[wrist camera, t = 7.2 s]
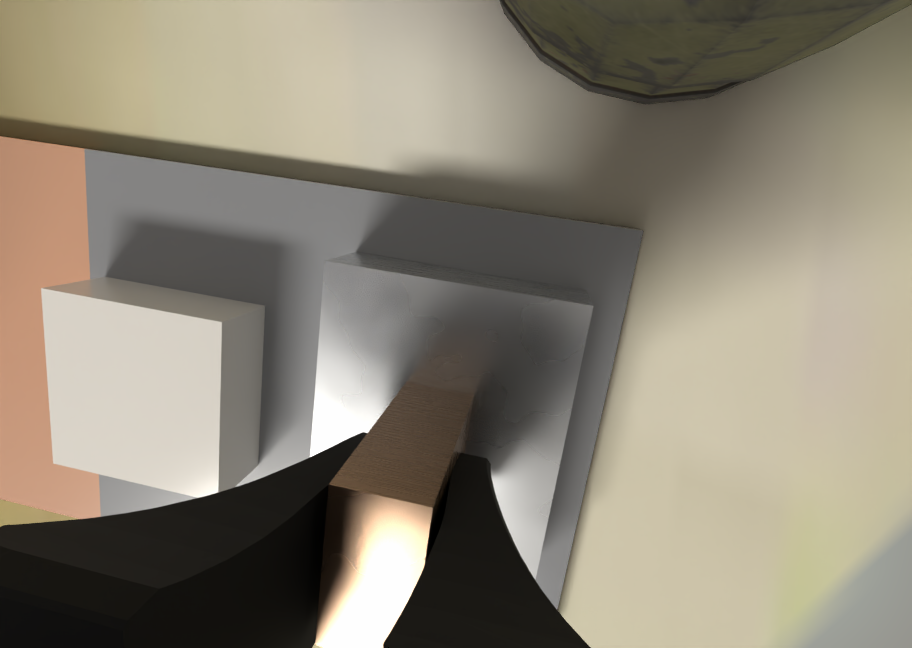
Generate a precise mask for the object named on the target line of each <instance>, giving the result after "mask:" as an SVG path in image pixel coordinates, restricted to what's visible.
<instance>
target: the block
mask: <svg viewBox="0 0 912 648" xmlns="http://www.w3.org/2000/svg"><path fill="white" fill-rule="evenodd" d="M41 295H42V310H43V324H44V338H45V353H46V367H47V382H48V396H49V410H50V425H51V439H52V454H53V463H54V464H58V465H62V466H66V467H70V468H75V469H79V470H83V471H87V472H92V473H96V474H100V475H104V476H108V477H113V478H117V479H121V480H125V481H129V482H134V483H138V484H142V485H146V486H151V487H155V488H159V489H163V490H167V491H172V492H176V493H180V494H184V495H188V496H193V497H197V498H199V497H204V496H208V495H211V494H215V493H218V492H221V491H224V490H228V489H231V488H234V487H235V486H236V485H238V484H239V483H240V482H241V481H242V480H243V479H244V478H245V477H246V476H247V475H248V474H249V473H251V472H252V471H253V470H254V469H255V468H256V467H257V466H258V456H259V434H260V411H261V388H262V365H263V342H264V319H265V306H264V305H258V304H253V303H247V302H242V301H236V300H231V299H225V298H220V297H214V296H209V295H203V294H198V293H192V292H187V291H181V290H176V289H170V288H164V287H159V286H153V285H148V284H142V283H137V282H131V281H126V280H120V279H115V278H109V277H101V278H95V279H90V280H84V281H78V282H73V283H67V284H62V285H56V286H50V287H45V288H41Z"/></svg>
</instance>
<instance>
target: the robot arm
mask: <svg viewBox="0 0 912 648" xmlns="http://www.w3.org/2000/svg"><path fill="white" fill-rule="evenodd" d="M366 435H367V433H364V432H362V433H360V434H357V435H355V436H353V437H350V438H348V439H346V440H344V441H342V442H340V443H338V444H336V445H334V446H332V447H330V448H328V449H326V450H324V451H322V452H320V453H318V454H315V455H313V456H311V457H309V458H307V459H305V460H303V461H301V462H298V463H296V464H294V465H291V466H289V467H287V468H284V469H282V470H279V471H277V472H275V473H272V474H270V475H267V476H265V477H263V478H260V479H257V480H255V481H252V482H249V483H246V484H243V485H240V486H237V487H234V488H231V489H228V490H224V491H221V492H218V493H215V494H211V495H208V496H204V497H199V498H195V499H191V500H187V501H182V502H178V503H174V504H170V505H165V506H161V507H156V508H151V509H146V510H140V511H134V512H129V513H122V514H116V515H109V516H102V517H95V518H86V519H78V520H66V521H55V522H43V523H31V524H19V525H4V526H2V527H0V648H312V647H313V645H314V643H315V640H316V628H317V616H318V605H319V593H320V581H321V569H322V558H323V546H324V534H325V522H326V511H327V499H328V487H329V483H330V482H331V481H332V479H333V478H334V477H335V475H336V474H337V473H338V471H339V470H340V469H341V467H342V466H343V465H344V464H345V462H346V461H347V460H348V458H349V457H350V456H351V454H352V453H353V452H354V450H355V449H356V448H357V446H358V445H359V444H360V442H361V441H362V440H363V438H364V437H365V436H366ZM383 648H590V647H589V646H588V645H587V644H586V643H585V641H584V640H583V639H582V638H581V637H580V636H579V635H578V634H577V633H576V632H575V630H574V629H573V628H572V627H571V626H570V625H569V624H568V623H567V622H566V621H565V619H564V618H563V617H562V616H561V614H560V613H559V612H558V611H557V609H556V608H555V607H554V605H553V604H552V603H551V601H550V600H549V599H548V597H547V596H546V595H545V593H544V592H543V591H542V589H541V588H540V586H539V585H538V583H537V582H536V580H535V579H534V577H533V576H532V574H531V572H530V571H529V569H528V567H527V565H526V564H525V562H524V560H523V559H522V557H521V555H520V553H519V551H518V549H517V547H516V545H515V543H514V541H513V539H512V536H511V534H510V532H509V530H508V527H507V525H506V523H505V520H504V518H503V515H502V512H501V509H500V506H499V503H498V500H497V497H496V494H495V490H494V486H493V482H492V476H491V463H490V462H489V460H488V459H487V458H484V457H479V456H474V455H469V454H465V453H460V455H459V457H458V459H457V461H456V463H455V465H454V467H453V470H452V473H451V479H450V485H449V490H448V496H447V502H446V507H445V513H444V517H443V521H442V524H441V527H440V530H439V532H438V535H437V537H436V540H435V542H434V545H433V547H432V550H431V552H430V555H429V557H428V559H427V561H426V564H425V566H424V568H423V571H422V573H421V575H420V577H419V579H418V581H417V583H416V585H415V587H414V590H413V592H412V594H411V596H410V598H409V600H408V602H407V604H406V606H405V607H404V609H403V611H402V613H401V614H400V616H399V618H398V620H397V621H396V623H395V625H394V627H393V628H392V630H391V632H390V634H389V635H388V637H387V638H386V640H385V641H384V644H383Z"/></svg>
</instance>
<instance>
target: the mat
mask: <svg viewBox="0 0 912 648" xmlns="http://www.w3.org/2000/svg"><path fill="white" fill-rule="evenodd" d="M642 235H643V230H640V229H633V228H627V227H620V226H613V225H606V224H599V223H592V222H586V221H579V220H572V219H565V218H558V217H551V216H545V215H538V214H531V213H524V212H517V211H510V210H504V209H497V208H490V207H483V206H476V205H469V204H463V203H456V202H449V201H442V200H435V199H428V198H422V197H415V196H408V195H401V194H394V193H387V192H380V191H374V190H367V189H360V188H353V187H346V186H339V185H333V184H326V183H319V182H312V181H305V180H298V179H292V178H285V177H278V176H271V175H264V174H257V173H251V172H244V171H237V170H230V169H223V168H216V167H210V166H203V165H196V164H189V163H182V162H175V161H169V160H162V159H155V158H148V157H141V156H134V155H128V154H121V153H114V152H107V151H100V150H93V149H87V148H80V147H73V146H66V145H59V144H52V143H46V142H39V141H32V140H25V139H18V138H11V137H5V136H0V499H2V500H6V501H10V502H14V503H18V504H22V505H26V506H30V507H34V508H38V509H42V510H46V511H50V512H54V513H58V514H62V515H66V516H70V517H74V518H78V519H86V518H95V517H102V516H109V515H116V514H122V513H129V512H134V511H140V510H146V509H151V508H156V507H161V506H165V505H170V504H174V503H178V502H182V501H187V500H191V499H195V498H197V497H193V496H188V495H184V494H180V493H176V492H172V491H167V490H163V489H159V488H155V487H151V486H146V485H142V484H138V483H134V482H129V481H125V480H121V479H117V478H113V477H108V476H104V475H100V474H96V473H92V472H87V471H83V470H79V469H75V468H70V467H66V466H62V465H58V464H54V463H53V454H52V439H51V425H50V410H49V396H48V382H47V367H46V353H45V338H44V324H43V310H42V295H41V288H45V287H50V286H56V285H62V284H67V283H73V282H78V281H84V280H90V279H95V278H101V277H109V278H115V279H120V280H126V281H131V282H137V283H142V284H148V285H153V286H159V287H164V288H170V289H176V290H181V291H187V292H192V293H198V294H203V295H209V296H214V297H220V298H225V299H231V300H236V301H242V302H247V303H253V304H258V305H264V306H265V319H264V342H263V365H262V388H261V411H260V434H259V456H258V466H257V467H256V468H255V469H254V470H253V471H252V472H251V473H249V474H248V475H247V476H246V477H245V478H244V479H243V480H242V481H241V482H240V483H239V484H238V485H236V486H235V487H237V486H240V485H243V484H246V483H249V482H252V481H255V480H257V479H260V478H263V477H265V476H267V475H270V474H272V473H275V472H277V471H279V470H282V469H284V468H287V467H289V466H291V465H294V464H296V463H298V462H301V461H303V460H305V459H307V458H309V457H310V451H311V438H312V424H313V411H314V397H315V383H316V370H317V356H318V342H319V329H320V315H321V302H322V288H323V274H324V261H325V260H329V259H333V258H336V257H340V256H343V255H347V254H350V253H354V252H359V253H365V254H371V255H377V256H383V257H389V258H396V259H402V260H408V261H414V262H420V263H426V264H432V265H438V266H444V267H450V268H457V269H463V270H469V271H475V272H481V273H487V274H493V275H499V276H505V277H511V278H518V279H524V280H530V281H536V282H542V283H548V284H554V285H560V286H566V287H572V288H579V289H585V290H587V292H588V294H589V297H590V299H591V301H592V304H593V311H592V315H591V320H590V325H589V330H588V334H587V339H586V344H585V348H584V353H583V358H582V363H581V367H580V372H579V377H578V381H577V386H576V391H575V396H574V400H573V405H572V410H571V415H570V419H569V424H568V429H567V433H566V438H565V443H564V448H563V452H562V457H561V462H560V467H559V471H558V476H557V481H556V485H555V490H554V495H553V500H552V504H551V509H550V514H549V518H548V523H547V528H546V533H545V537H544V542H543V547H542V552H541V556H540V561H539V566H538V570H537V575H536V582H537V583H538V585H539V586H540V588H541V589H542V591H543V592H544V593H545V595H546V596H547V597H548V599H549V600H550V601H551V603H552V604H553V605H554V607H555V608H556V609H558V605H559V601H560V596H561V592H562V587H563V583H564V578H565V574H566V570H567V565H568V561H569V556H570V552H571V548H572V543H573V539H574V534H575V530H576V526H577V521H578V517H579V512H580V508H581V504H582V499H583V495H584V490H585V486H586V482H587V477H588V473H589V468H590V464H591V460H592V455H593V451H594V446H595V442H596V437H597V433H598V429H599V424H600V420H601V415H602V411H603V407H604V402H605V398H606V393H607V389H608V385H609V380H610V376H611V371H612V367H613V363H614V358H615V354H616V349H617V345H618V341H619V336H620V332H621V327H622V323H623V319H624V314H625V310H626V305H627V301H628V296H629V292H630V288H631V283H632V279H633V274H634V270H635V266H636V261H637V257H638V252H639V248H640V244H641V239H642Z"/></svg>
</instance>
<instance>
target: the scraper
mask: <svg viewBox="0 0 912 648" xmlns="http://www.w3.org/2000/svg"><path fill="white" fill-rule="evenodd" d="M592 311H593V304H592V301H591V299H590V297H589V294H588V292H587V290H585V289H579V288H572V287H566V286H560V285H554V284H548V283H542V282H536V281H530V280H524V279H518V278H511V277H505V276H499V275H493V274H487V273H481V272H475V271H469V270H463V269H457V268H450V267H444V266H438V265H432V264H426V263H420V262H414V261H408V260H402V259H396V258H389V257H383V256H377V255H371V254H365V253H359V252H354V253H350V254H347V255H343V256H340V257H336V258H333V259H329V260H325V261H324V274H323V288H322V302H321V315H320V329H319V342H318V356H317V370H316V383H315V397H314V411H313V424H312V438H311V451H310V457H311V456H313V455H315V454H318V453H320V452H322V451H324V450H326V449H328V448H330V447H332V446H334V445H336V444H338V443H340V442H342V441H344V440H346V439H348V438H350V437H353V436H355V435H357V434H360V433H362V432H364V433H367V435H366V436H365V437H364V438H363V440H362V441H361V442H360V444H359V445H358V446H357V448H356V449H355V450H354V452H353V453H352V454H351V456H350V457H349V458H348V460H347V461H346V462H345V464H344V465H343V466H342V467H341V469H340V470H339V471H338V473H337V474H336V475H335V477H334V478H333V479H332V481H331V482H330V483H329V487H328V499H327V511H326V522H325V534H324V546H323V558H322V569H321V581H320V593H319V605H318V616H317V628H316V640H315V645H317V646H321V647H325V648H383V644H384V641H385V640H386V638H387V637H388V635H389V634H390V632H391V630H392V628H393V627H394V625H395V623H396V621H397V620H398V618H399V616H400V614H401V613H402V611H403V609H404V607H405V606H406V604H407V602H408V600H409V598H410V596H411V594H412V592H413V590H414V587H415V585H416V583H417V581H418V579H419V577H420V575H421V573H422V571H423V568H424V566H425V564H426V561H427V559H428V557H429V555H430V552H431V550H432V547H433V545H434V542H435V540H436V537H437V535H438V532H439V530H440V527H441V524H442V521H443V517H444V513H445V507H446V502H447V496H448V490H449V485H450V479H451V473H452V470H453V467H454V465H455V463H456V461H457V459H458V457H459V455H460V453H465V454H469V455H474V456H479V457H484V458H487V459H488V460H489V462H490V463H491V476H492V482H493V486H494V490H495V494H496V497H497V500H498V503H499V506H500V509H501V512H502V515H503V518H504V520H505V523H506V525H507V527H508V530H509V532H510V534H511V536H512V539H513V541H514V543H515V545H516V547H517V549H518V551H519V553H520V555H521V557H522V559H523V560H524V562H525V564H526V565H527V567H528V569H529V571H530V572H531V574H532V576H533V577H534V579H535V580H536V575H537V570H538V566H539V561H540V556H541V552H542V547H543V542H544V537H545V533H546V528H547V523H548V518H549V514H550V509H551V504H552V500H553V495H554V490H555V485H556V481H557V476H558V471H559V467H560V462H561V457H562V452H563V448H564V443H565V438H566V433H567V429H568V424H569V419H570V415H571V410H572V405H573V400H574V396H575V391H576V386H577V381H578V377H579V372H580V367H581V363H582V358H583V353H584V348H585V344H586V339H587V334H588V330H589V325H590V320H591V315H592Z"/></svg>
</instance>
